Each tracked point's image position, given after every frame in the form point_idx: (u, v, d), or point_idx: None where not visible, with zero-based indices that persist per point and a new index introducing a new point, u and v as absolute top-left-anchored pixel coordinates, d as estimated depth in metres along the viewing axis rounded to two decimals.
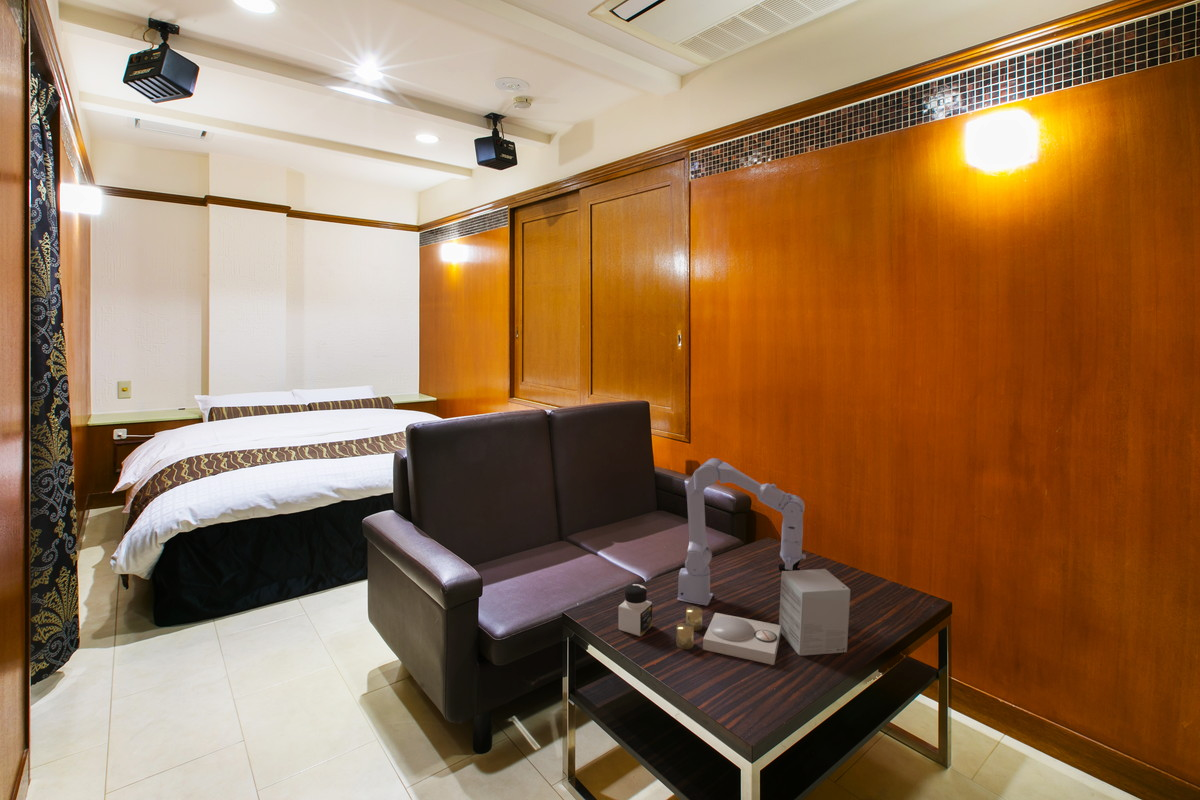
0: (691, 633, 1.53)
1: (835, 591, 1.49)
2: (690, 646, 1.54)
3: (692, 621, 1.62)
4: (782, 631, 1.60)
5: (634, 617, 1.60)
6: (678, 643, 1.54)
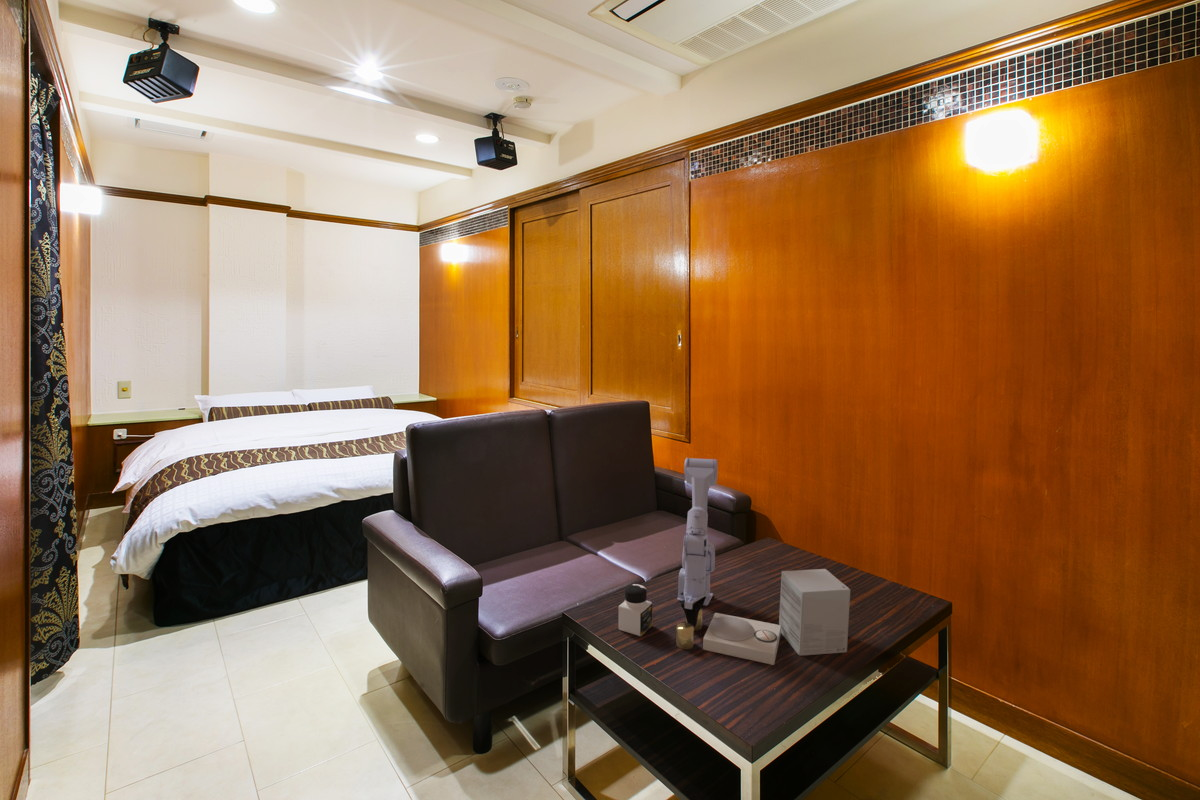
0: (691, 633, 1.53)
1: (835, 591, 1.49)
2: (690, 646, 1.54)
3: None
4: (782, 631, 1.60)
5: (634, 617, 1.60)
6: (678, 643, 1.54)
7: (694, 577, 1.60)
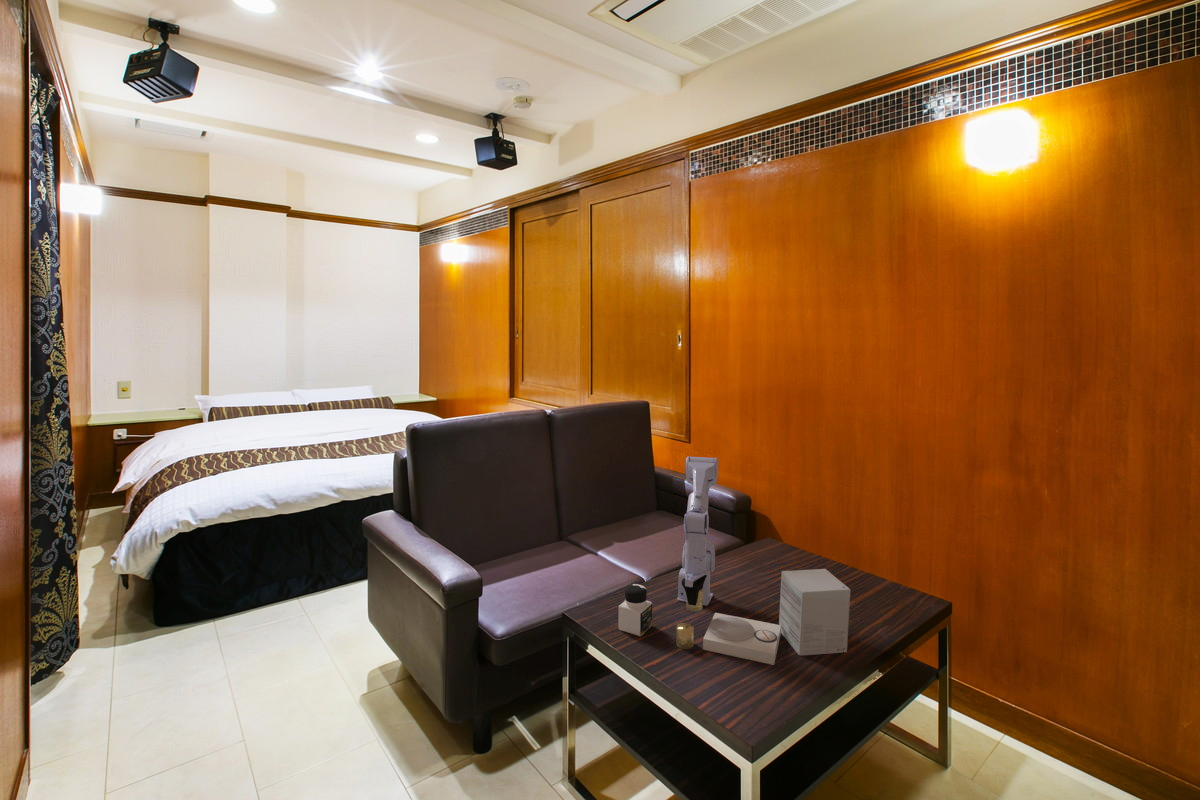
0: (691, 633, 1.53)
1: (835, 591, 1.49)
2: (690, 646, 1.54)
3: None
4: (782, 631, 1.60)
5: (634, 617, 1.60)
6: (678, 643, 1.54)
7: (695, 555, 1.59)
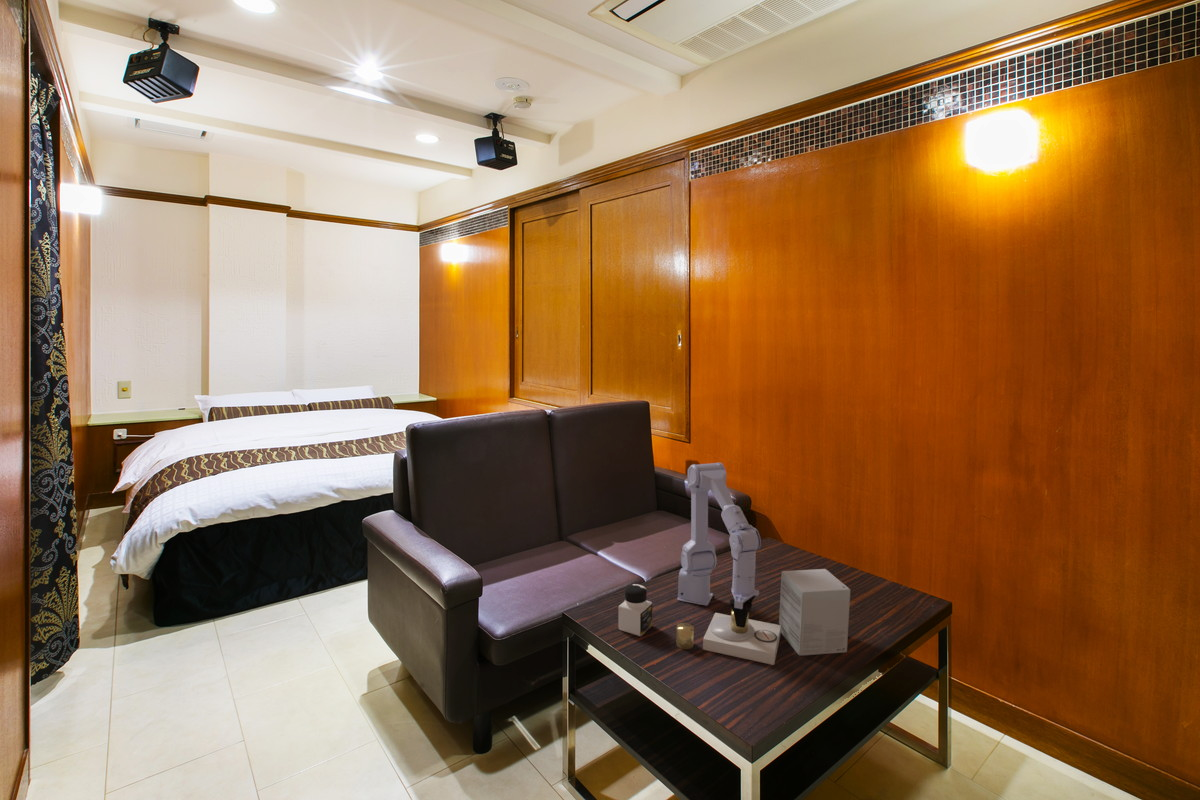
0: (691, 633, 1.53)
1: (835, 591, 1.49)
2: (690, 646, 1.54)
3: None
4: (782, 631, 1.60)
5: (634, 617, 1.60)
6: (678, 643, 1.54)
7: (749, 575, 1.51)
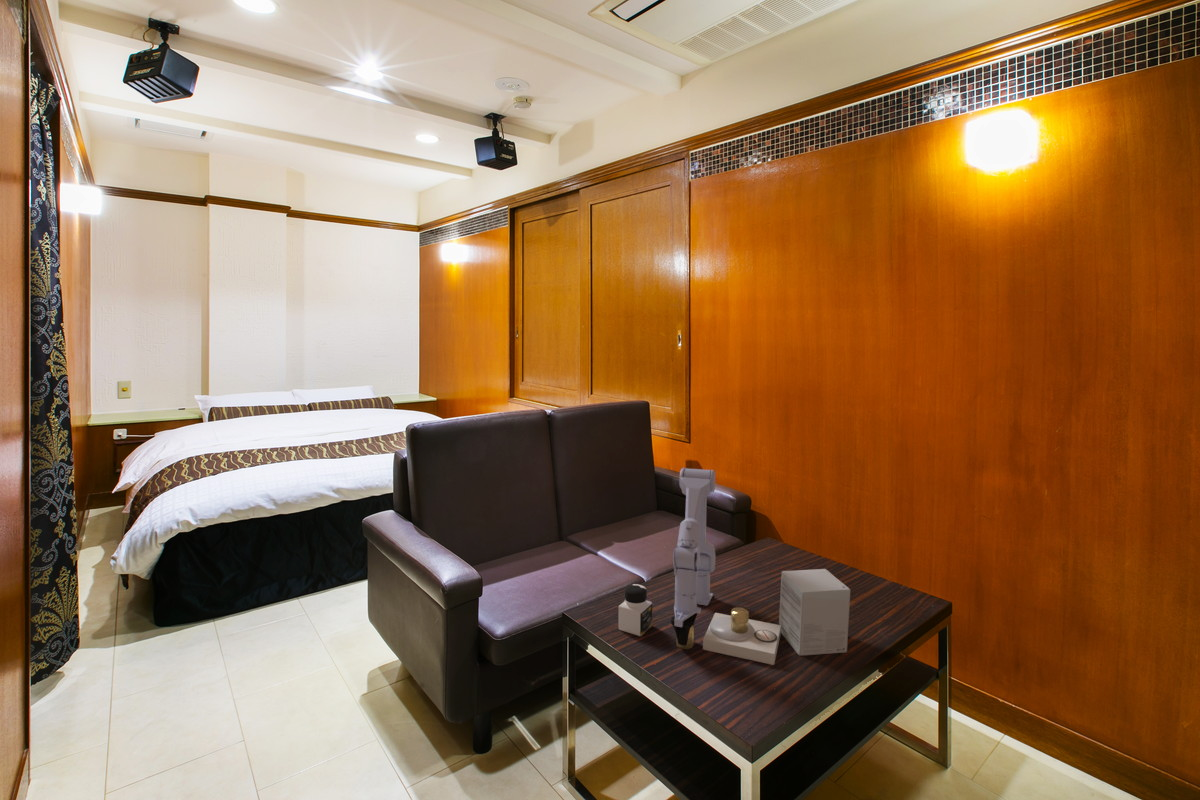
0: (691, 633, 1.53)
1: (835, 591, 1.49)
2: (690, 646, 1.54)
3: (737, 623, 1.54)
4: (782, 631, 1.60)
5: (634, 617, 1.60)
6: None
7: (684, 592, 1.51)
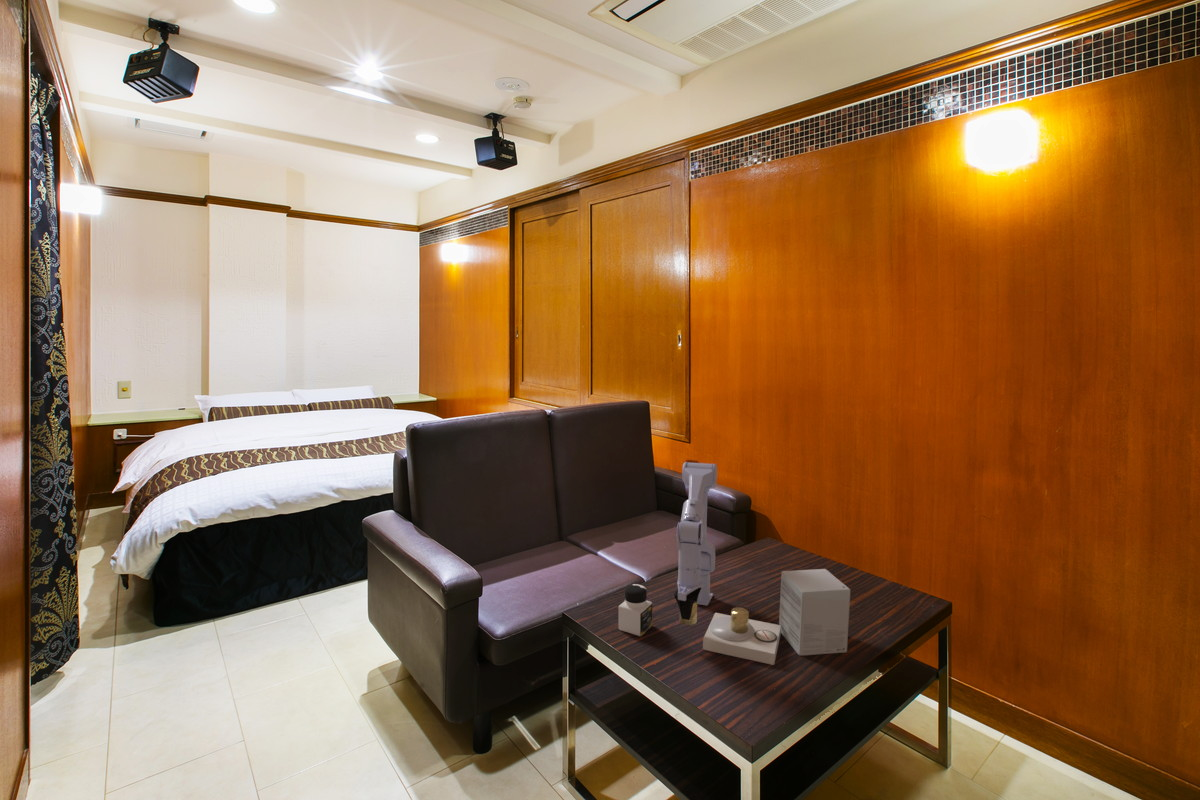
0: (694, 609, 1.53)
1: (835, 591, 1.49)
2: (693, 622, 1.53)
3: (737, 623, 1.54)
4: (782, 631, 1.60)
5: (634, 617, 1.60)
6: (681, 619, 1.54)
7: (688, 567, 1.50)
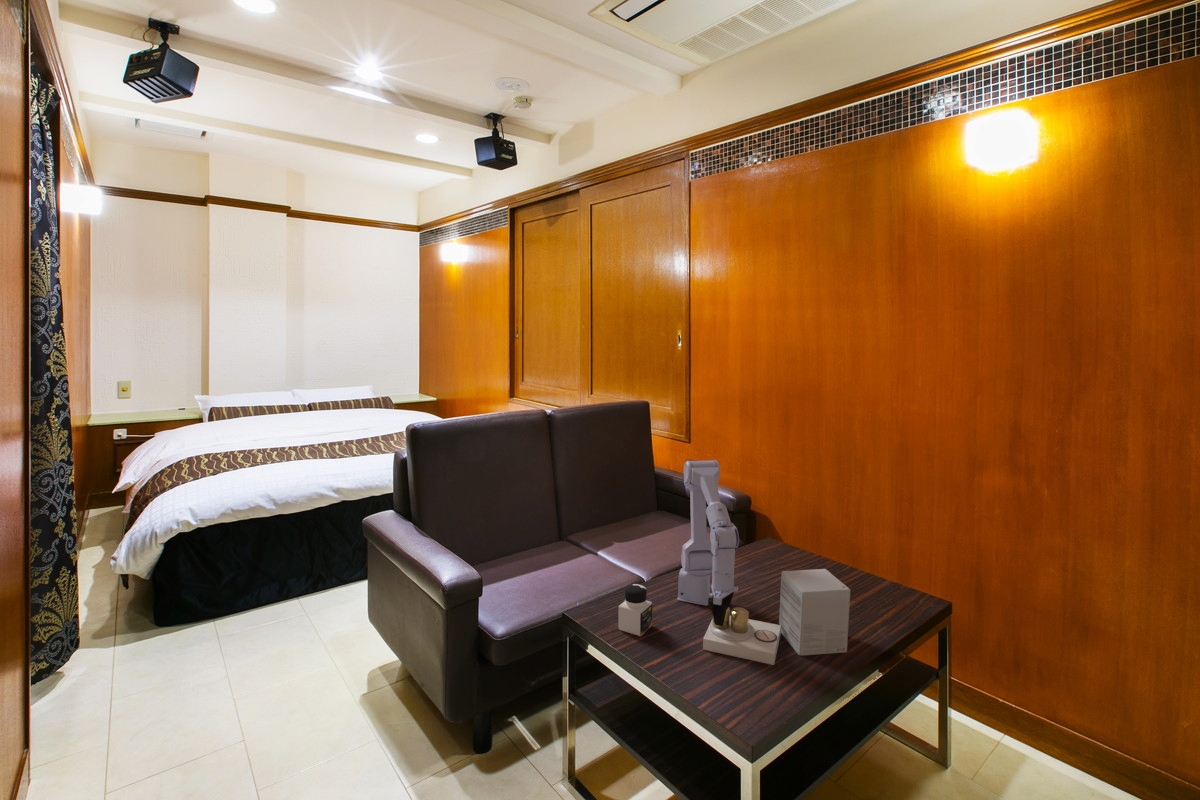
0: (728, 613, 1.56)
1: (835, 591, 1.49)
2: (727, 626, 1.57)
3: (737, 623, 1.54)
4: (782, 631, 1.60)
5: (634, 617, 1.60)
6: None
7: (726, 571, 1.53)
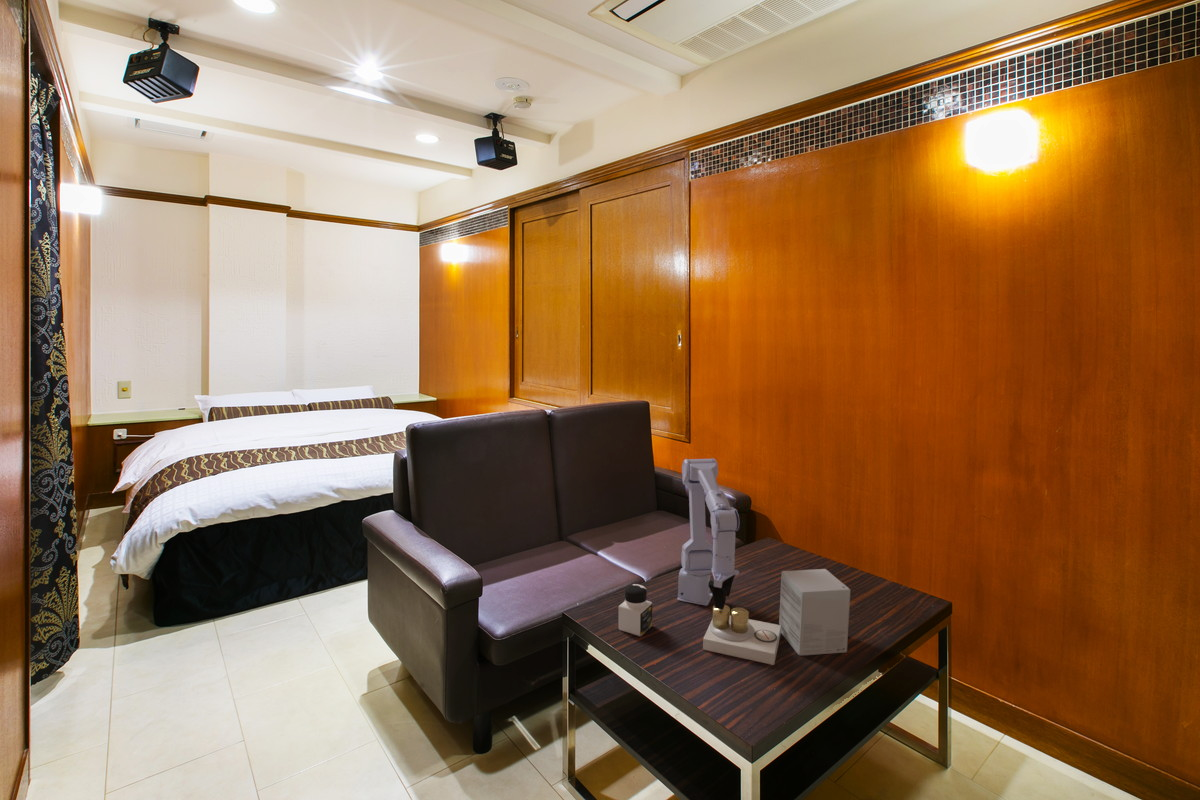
0: (728, 613, 1.56)
1: (835, 591, 1.49)
2: (727, 626, 1.57)
3: (737, 623, 1.54)
4: (782, 631, 1.60)
5: (634, 617, 1.60)
6: (715, 624, 1.57)
7: (727, 554, 1.53)
